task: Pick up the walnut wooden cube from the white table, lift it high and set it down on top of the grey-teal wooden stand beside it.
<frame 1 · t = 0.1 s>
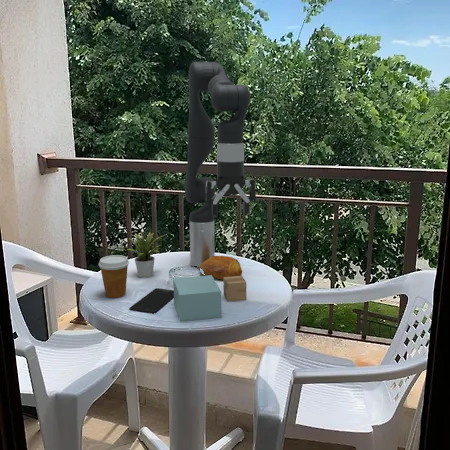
hand: (230, 216, 145), 29 cm above the table, fingers open, 8 cm apart
croissant: (222, 275, 183), on the table
house plant: (146, 276, 181), on the table
walnut cube: (234, 297, 162), on the table
cell phone: (155, 302, 159), on the table
disposable coffee cup: (115, 295, 165), on the table
stand: (196, 309, 153), on the table
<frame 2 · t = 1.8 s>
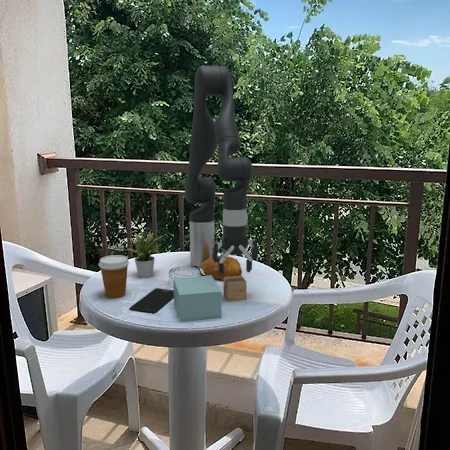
hand: (235, 272, 160), 8 cm above the table, fingers open, 8 cm apart
nothing on the table moved.
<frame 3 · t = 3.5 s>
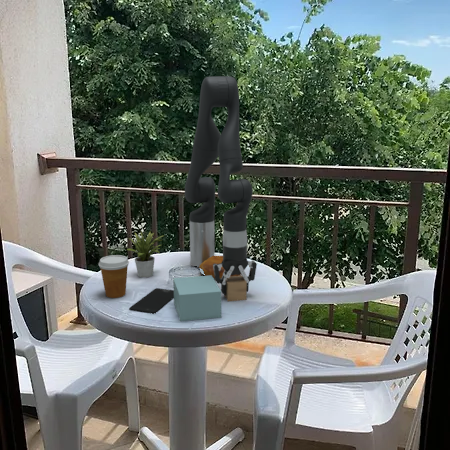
hand: (234, 293, 162), 1 cm above the table, fingers closed on walnut cube, 6 cm apart
walnut cube: (234, 297, 162), on the table, touching gripper
everything else where it was.
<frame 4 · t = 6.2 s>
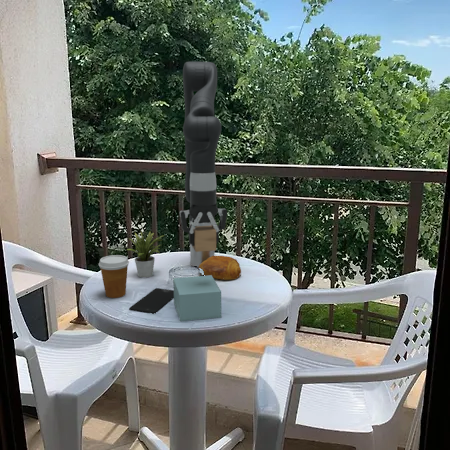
hand: (203, 244, 149), 20 cm above the table, fingers closed on walnut cube, 6 cm apart
walnut cube: (204, 248, 149), point 19 cm above the table, touching gripper
everything else where it was.
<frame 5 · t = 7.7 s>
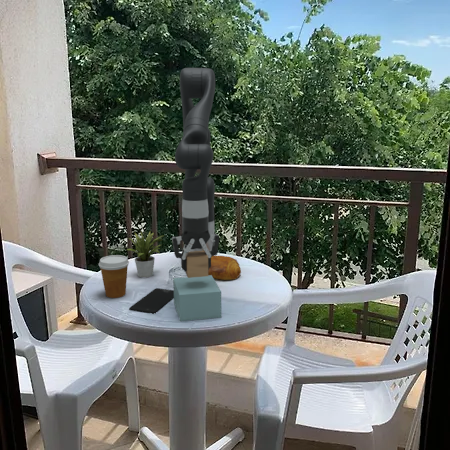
hand: (196, 269, 149), 13 cm above the table, fingers closed on walnut cube, 6 cm apart
walnut cube: (196, 273, 150), point 11 cm above the table, touching gripper
everything else where it was.
when the fingers open (11 cm above the table, at t = 9.1 s): walnut cube drops 1 cm, resting on stand.
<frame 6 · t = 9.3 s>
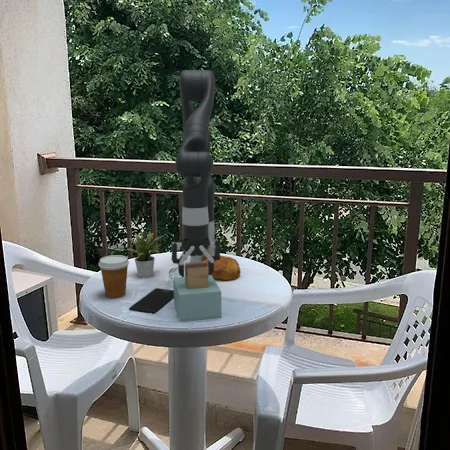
hand: (196, 275, 150), 11 cm above the table, fingers open, 8 cm apart
walnut cube: (196, 284, 151), point 8 cm above the table, touching stand
everything else where it was.
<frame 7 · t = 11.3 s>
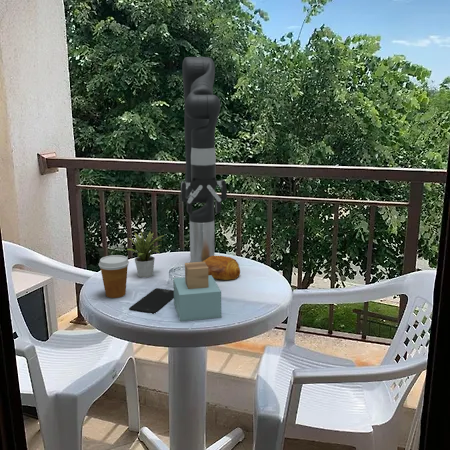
hand: (203, 213, 159), 26 cm above the table, fingers open, 8 cm apart
nothing on the table moved.
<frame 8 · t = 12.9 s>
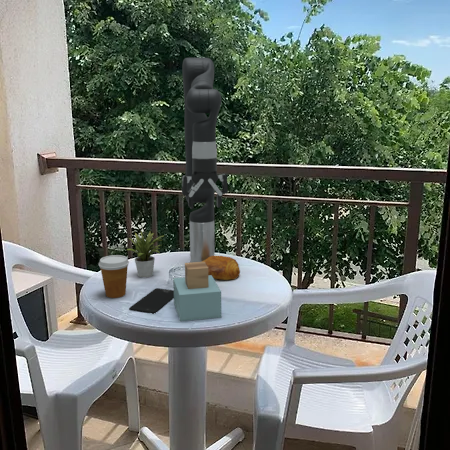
hand: (205, 207, 160), 28 cm above the table, fingers open, 8 cm apart
nothing on the table moved.
at the end: walnut cube inside the target area on the stand (0.1 cm from its centre), point 8.0 cm above the stand's base; walnut cube tilted 0°; the gripper is holding nothing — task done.
